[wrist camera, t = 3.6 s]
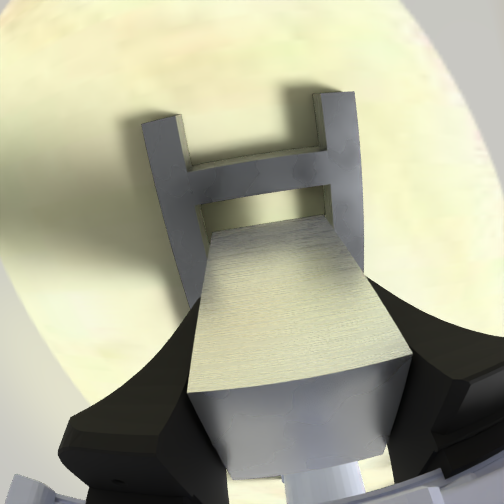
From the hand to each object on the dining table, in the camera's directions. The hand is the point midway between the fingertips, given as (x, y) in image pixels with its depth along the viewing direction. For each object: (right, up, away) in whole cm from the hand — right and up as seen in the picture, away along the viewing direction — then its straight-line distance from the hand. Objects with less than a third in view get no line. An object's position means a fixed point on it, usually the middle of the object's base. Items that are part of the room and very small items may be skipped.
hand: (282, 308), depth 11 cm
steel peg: (0, +1, +2) cm, 3 cm away
